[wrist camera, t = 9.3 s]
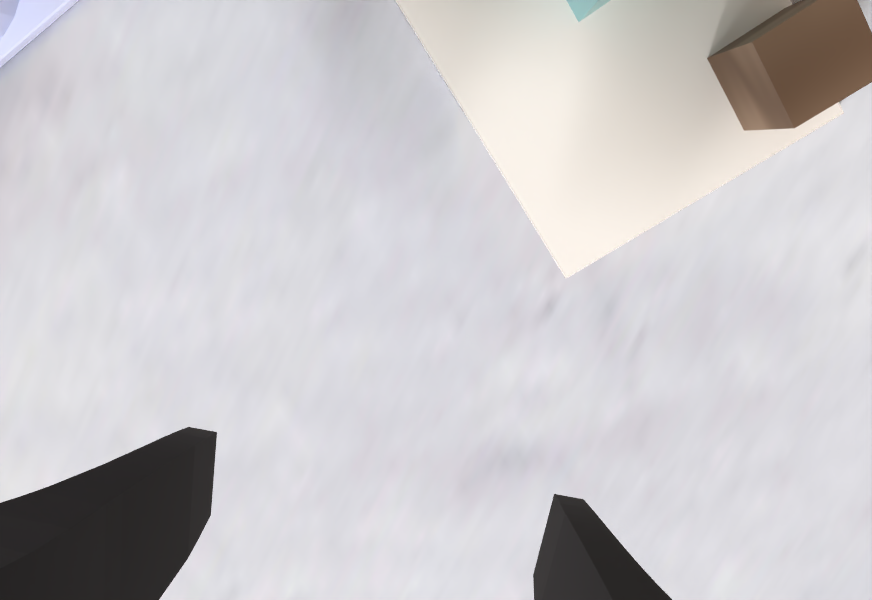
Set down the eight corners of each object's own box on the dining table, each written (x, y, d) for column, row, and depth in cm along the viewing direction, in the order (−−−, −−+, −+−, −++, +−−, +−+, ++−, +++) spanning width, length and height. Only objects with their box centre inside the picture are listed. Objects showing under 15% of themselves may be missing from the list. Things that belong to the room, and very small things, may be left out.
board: (355, -65, 18) (352, -71, 18) (642, -291, 16) (647, -304, 16) (563, 275, 21) (565, 278, 20) (834, 114, 19) (844, 113, 18)
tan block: (707, 58, 18) (752, 41, 15) (786, 7, 18) (848, -20, 15) (744, 130, 19) (794, 128, 16) (821, 83, 18) (889, 71, 15)
